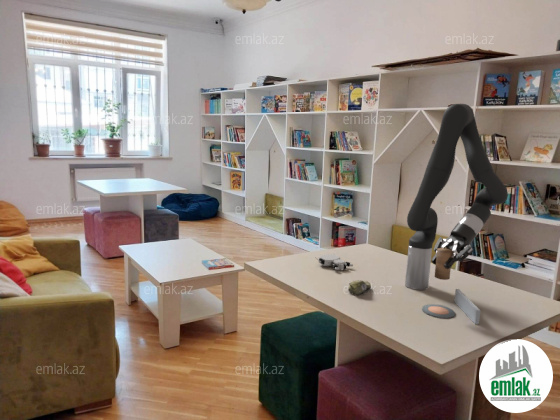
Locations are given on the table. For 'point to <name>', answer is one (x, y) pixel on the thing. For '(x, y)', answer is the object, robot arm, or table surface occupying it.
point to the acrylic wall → (467, 306)
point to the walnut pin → (442, 263)
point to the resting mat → (438, 311)
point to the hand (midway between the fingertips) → (439, 265)
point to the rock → (358, 287)
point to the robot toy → (333, 261)
